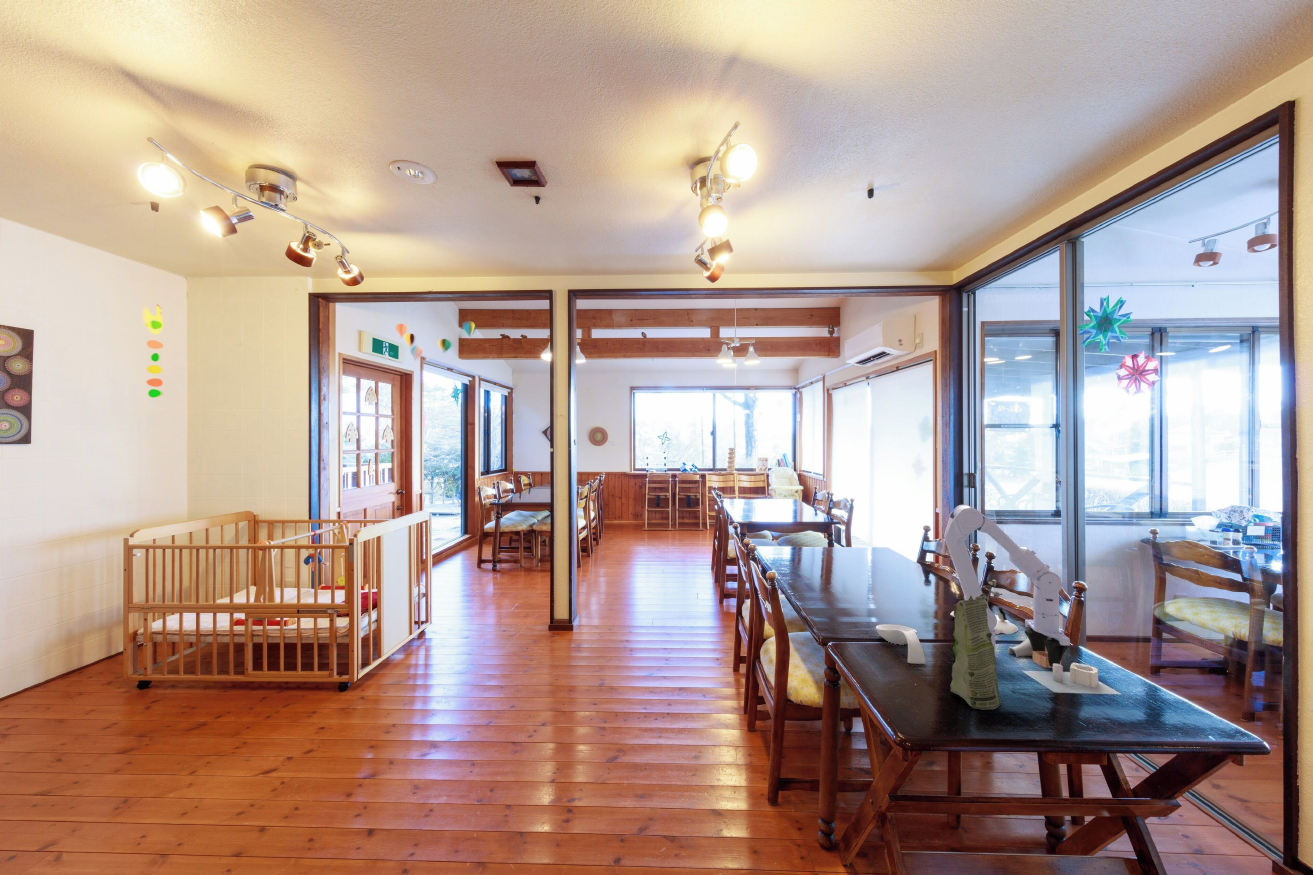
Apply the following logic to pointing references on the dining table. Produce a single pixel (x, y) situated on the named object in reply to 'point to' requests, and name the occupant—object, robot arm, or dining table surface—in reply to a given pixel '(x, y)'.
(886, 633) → the spoon rest
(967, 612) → the pouch
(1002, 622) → the figurine
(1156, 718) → the dining table surface
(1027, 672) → the gear board
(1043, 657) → the gear
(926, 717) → the dining table surface
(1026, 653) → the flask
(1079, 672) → the gear
